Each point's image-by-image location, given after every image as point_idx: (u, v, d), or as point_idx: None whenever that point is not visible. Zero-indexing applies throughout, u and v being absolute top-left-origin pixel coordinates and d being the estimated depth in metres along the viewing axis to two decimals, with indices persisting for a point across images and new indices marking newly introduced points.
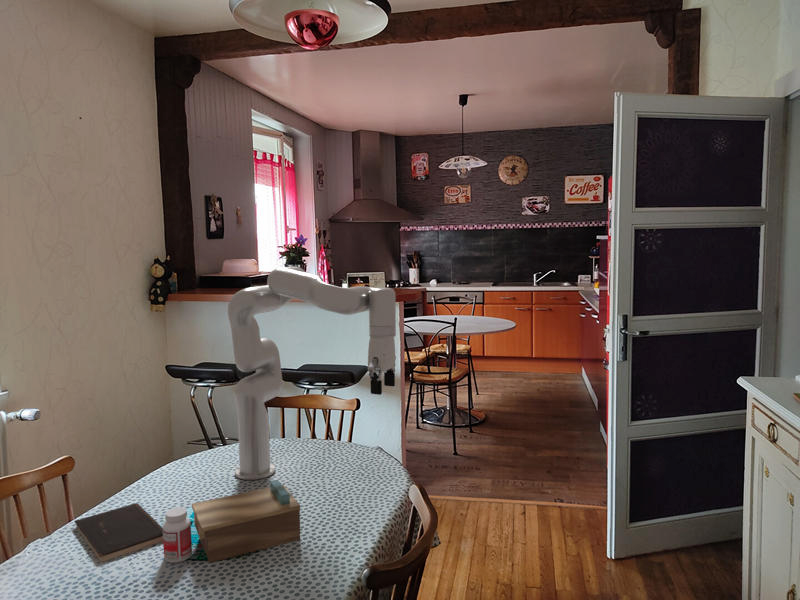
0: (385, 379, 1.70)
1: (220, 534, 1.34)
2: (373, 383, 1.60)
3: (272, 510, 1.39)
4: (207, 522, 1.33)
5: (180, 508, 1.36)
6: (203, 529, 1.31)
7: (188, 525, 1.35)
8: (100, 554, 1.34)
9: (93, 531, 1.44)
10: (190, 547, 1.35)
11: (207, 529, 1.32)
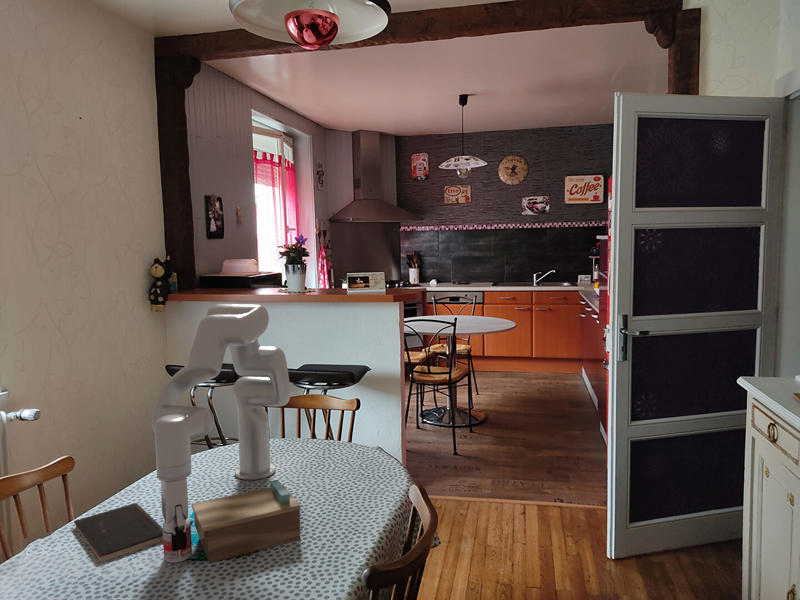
0: None
1: (220, 534, 1.34)
2: (178, 538, 1.31)
3: (272, 510, 1.39)
4: (207, 522, 1.33)
5: None
6: (203, 529, 1.31)
7: (188, 525, 1.34)
8: (100, 554, 1.34)
9: (93, 531, 1.44)
10: (190, 547, 1.35)
11: (207, 529, 1.32)
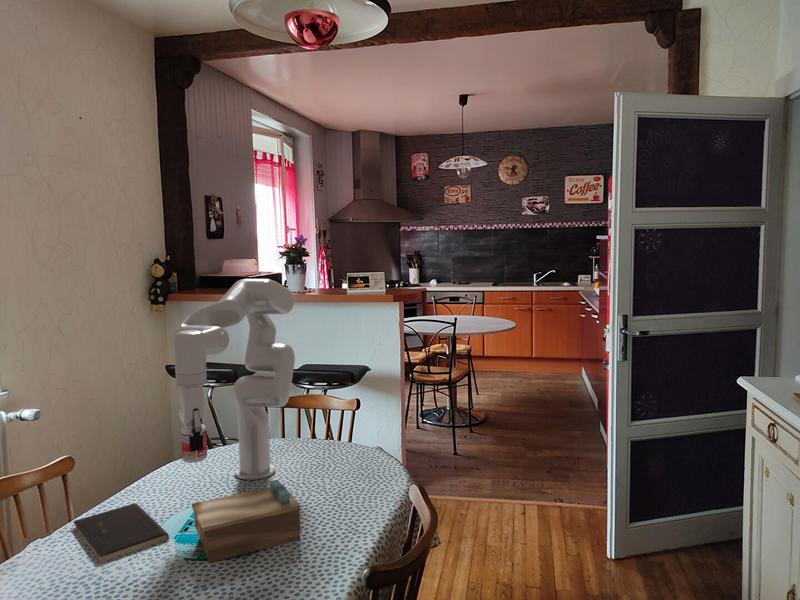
0: None
1: (220, 534, 1.34)
2: (195, 439, 1.46)
3: (272, 510, 1.39)
4: (207, 522, 1.33)
5: None
6: (203, 529, 1.31)
7: (204, 430, 1.49)
8: (99, 554, 1.34)
9: (92, 531, 1.44)
10: (205, 450, 1.50)
11: (207, 529, 1.32)
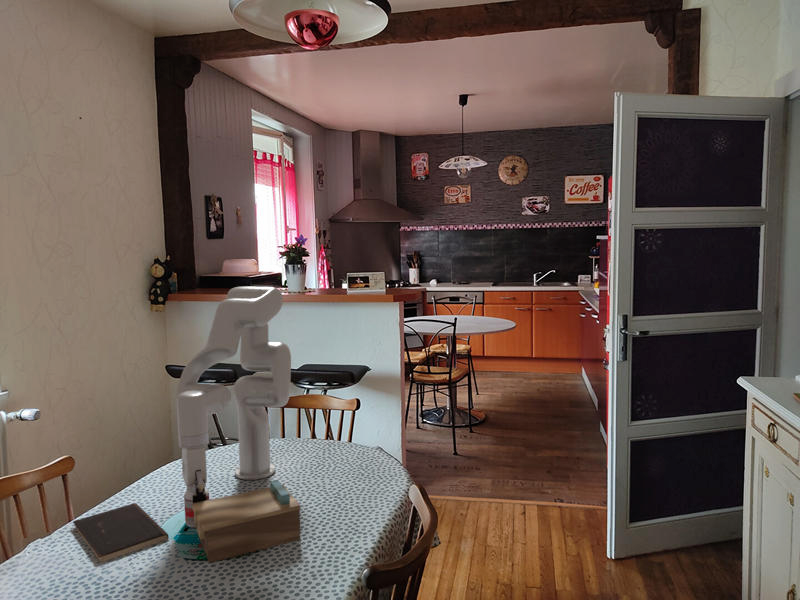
0: None
1: (220, 534, 1.34)
2: (198, 499, 1.46)
3: (272, 510, 1.39)
4: (207, 522, 1.33)
5: None
6: (203, 529, 1.31)
7: (207, 494, 1.51)
8: (99, 554, 1.34)
9: (92, 532, 1.44)
10: None
11: (207, 529, 1.32)
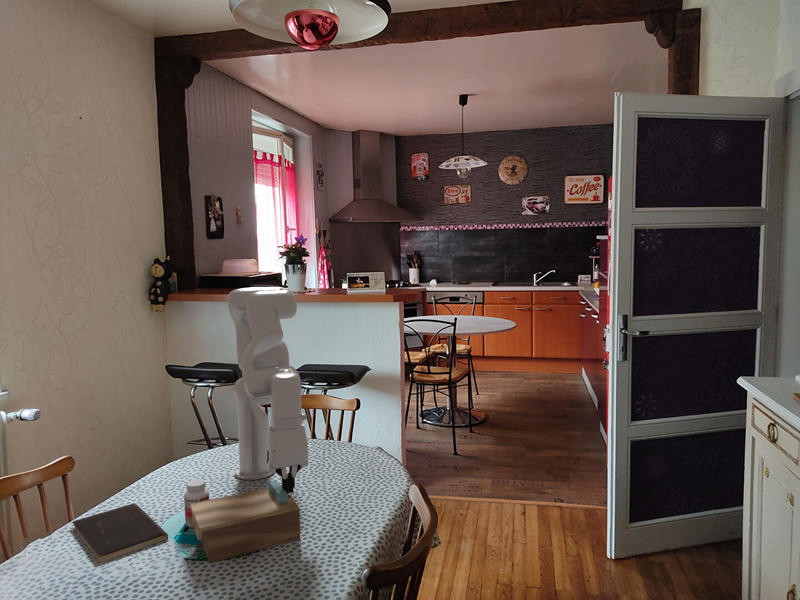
0: None
1: (220, 534, 1.34)
2: (282, 480, 1.47)
3: (270, 510, 1.39)
4: (205, 522, 1.33)
5: (199, 479, 1.53)
6: (201, 529, 1.31)
7: (207, 494, 1.51)
8: (99, 554, 1.34)
9: (91, 532, 1.44)
10: None
11: (205, 529, 1.31)
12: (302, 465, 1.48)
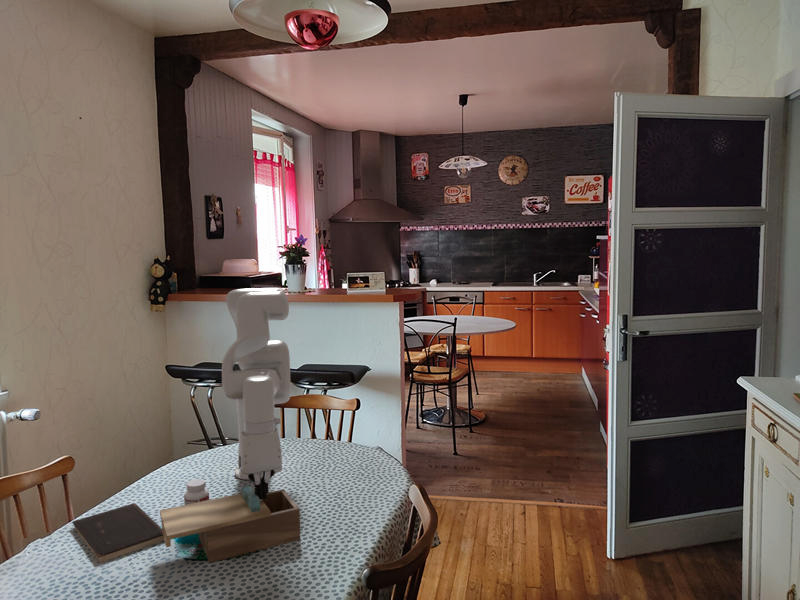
0: None
1: (220, 534, 1.34)
2: (255, 485, 1.44)
3: (241, 517, 1.36)
4: (173, 530, 1.30)
5: (199, 479, 1.53)
6: (168, 537, 1.28)
7: (207, 494, 1.51)
8: (99, 554, 1.34)
9: (91, 532, 1.44)
10: None
11: (173, 537, 1.28)
12: (276, 470, 1.45)
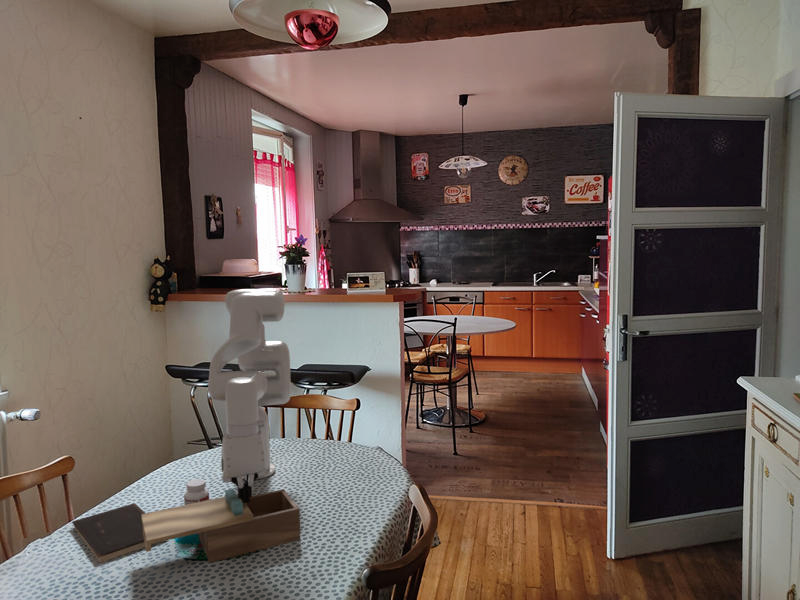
0: None
1: (220, 534, 1.34)
2: (238, 489, 1.42)
3: (223, 521, 1.34)
4: (153, 534, 1.28)
5: (199, 479, 1.53)
6: (148, 542, 1.26)
7: (207, 494, 1.51)
8: (98, 554, 1.34)
9: (91, 532, 1.44)
10: None
11: (153, 542, 1.26)
12: (259, 473, 1.43)
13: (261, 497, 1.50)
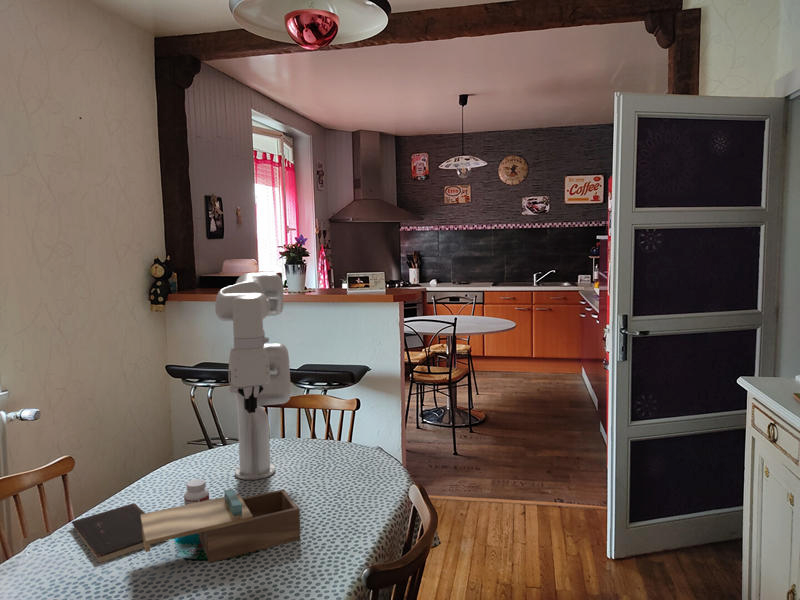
0: None
1: (220, 534, 1.34)
2: (244, 400, 1.52)
3: (222, 521, 1.34)
4: (152, 534, 1.28)
5: (199, 479, 1.53)
6: (147, 542, 1.26)
7: (207, 494, 1.51)
8: (98, 555, 1.34)
9: (91, 532, 1.44)
10: None
11: (152, 542, 1.26)
12: (264, 387, 1.53)
13: (261, 497, 1.50)
